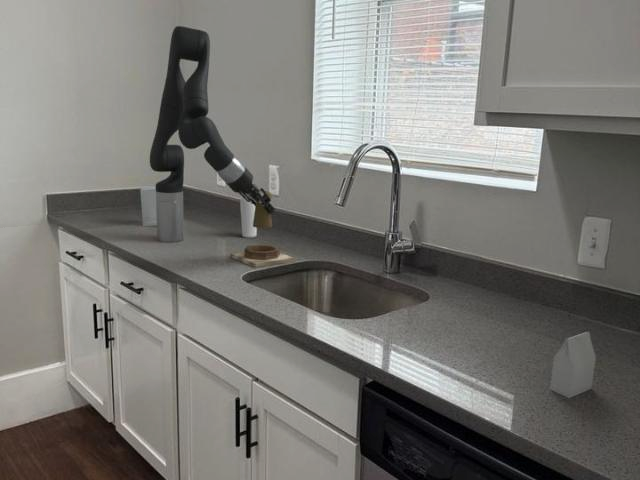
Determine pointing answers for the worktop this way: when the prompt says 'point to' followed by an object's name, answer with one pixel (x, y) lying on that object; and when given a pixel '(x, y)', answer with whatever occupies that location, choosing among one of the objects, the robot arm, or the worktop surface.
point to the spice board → (262, 262)
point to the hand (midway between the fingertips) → (267, 210)
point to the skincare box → (148, 206)
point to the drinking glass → (247, 218)
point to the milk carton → (573, 366)
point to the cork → (262, 216)
